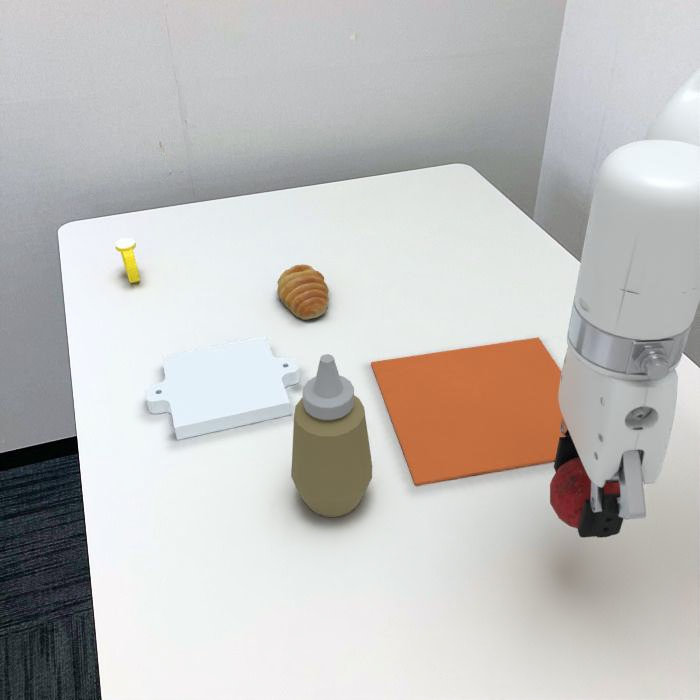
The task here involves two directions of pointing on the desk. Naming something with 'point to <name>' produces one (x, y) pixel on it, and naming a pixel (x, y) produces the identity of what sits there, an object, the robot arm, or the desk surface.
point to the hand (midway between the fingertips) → (584, 499)
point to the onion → (573, 491)
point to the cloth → (473, 408)
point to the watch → (128, 258)
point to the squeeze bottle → (330, 443)
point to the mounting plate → (223, 387)
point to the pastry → (303, 291)
